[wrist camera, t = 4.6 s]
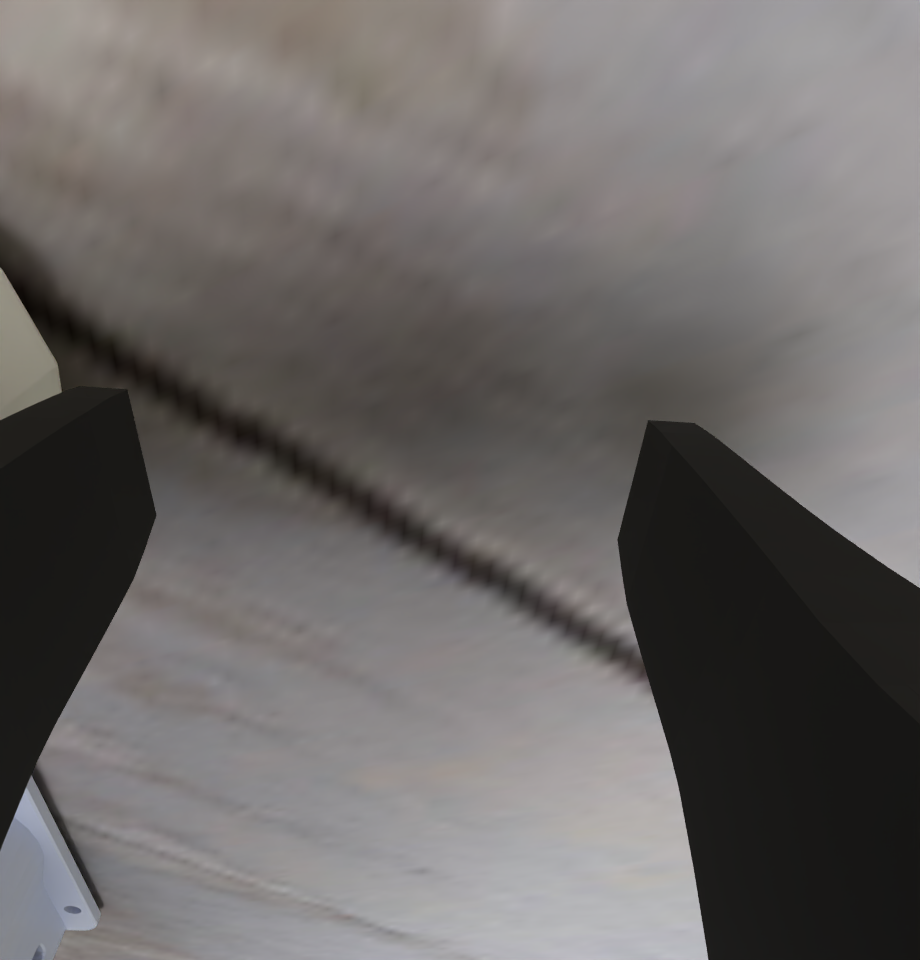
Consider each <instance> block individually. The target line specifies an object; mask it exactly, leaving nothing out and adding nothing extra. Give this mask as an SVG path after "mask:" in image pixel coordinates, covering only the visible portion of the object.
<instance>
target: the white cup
mask: <svg viewBox="0 0 920 960" xmlns="http://www.w3.org/2000/svg"><path fill="white" fill-rule="evenodd" d="M59 393H62V389H61V382H60V375H59V368H58V364H57V362H56V360H55V358H54V356H53V355H52V353H51V351H50V350H49V348H48V346H47V344H46V343H45V341H44V339H43V338H42V336H41V334H40V332H39V331H38V329H37V327H36V326H35V324H34V322H33V320H32V319H31V317H30V315H29V314H28V312H27V310H26V309H25V307H24V305H23V303H22V302H21V300H20V298H19V297H18V295H17V293H16V292H15V290H14V288H13V287H12V285H11V283H10V281H9V280H8V278H7V276H6V275H5V273H4V272H3V270H2V269H1V267H0V420H2V419H4V418H6V417H8V416H10V415H12V414H14V413H16V412H19V411H21V410H23V409H25V408H27V407H29V406H32V405H34V404H36V403H38V402H40V401H43V400H45V399H47V398H50V397H52V396H54V395H57V394H59Z"/></svg>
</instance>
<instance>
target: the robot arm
mask: <svg viewBox="0 0 920 960" xmlns="http://www.w3.org/2000/svg"><path fill="white" fill-rule="evenodd" d="M155 518H156V511H155V507H154V503H153V498H152V494H151V490H150V485H149V481H148V477H147V472H146V468H145V464H144V459H143V455H142V451H141V447H140V442H139V438H138V434H137V429H136V425H135V421H134V416H133V412H132V408H131V403H130V399H129V395H128V390H127V389H112V388H95V387H76V388H73V389H70V390H68V391H65V392H62V393H59V394H57V395H54V396H52V397H50V398H47V399H45V400H43V401H40V402H38V403H36V404H34V405H32V406H29V407H27V408H25V409H23V410H21V411H19V412H16V413H14V414H12V415H10V416H8V417H6V418H4V419H2V420H0V960H53V959H54V956H55V954H56V952H57V949H58V947H59V944H60V942H61V939H62V937H63V935H64V932H65V930H81V931H85V930H91V929H94V928H95V927H96V926H97V925H98V922H99V919H100V917H101V912H100V910H99V909H98V907H97V905H96V903H95V901H94V899H93V897H92V895H91V893H90V891H89V889H88V887H87V885H86V883H85V881H84V879H83V877H82V875H81V873H80V871H79V869H78V867H77V865H76V863H75V861H74V859H73V857H72V855H71V853H70V851H69V849H68V847H67V845H66V843H65V841H64V839H63V837H62V835H61V833H60V831H59V829H58V827H57V825H56V823H55V821H54V819H53V817H52V815H51V813H50V811H49V809H48V807H47V805H46V803H45V801H44V799H43V797H42V795H41V793H40V791H39V789H38V787H37V785H36V783H35V781H34V779H33V777H32V772H33V770H34V767H35V765H36V763H37V760H38V758H39V756H40V754H41V752H42V750H43V748H44V746H45V744H46V742H47V740H48V738H49V736H50V734H51V732H52V730H53V728H54V726H55V724H56V722H57V720H58V718H59V717H60V715H61V713H62V711H63V709H64V707H65V706H66V704H67V702H68V700H69V698H70V696H71V695H72V693H73V691H74V689H75V687H76V685H77V684H78V682H79V680H80V678H81V676H82V674H83V672H84V671H85V669H86V667H87V665H88V663H89V662H90V660H91V658H92V656H93V654H94V652H95V651H96V649H97V647H98V645H99V643H100V641H101V640H102V638H103V636H104V634H105V632H106V630H107V629H108V627H109V625H110V623H111V621H112V619H113V617H114V615H115V613H116V612H117V610H118V608H119V606H120V604H121V602H122V600H123V598H124V597H125V595H126V593H127V591H128V589H129V587H130V585H131V583H132V581H133V579H134V577H135V574H136V571H137V569H138V566H139V563H140V561H141V558H142V556H143V553H144V550H145V547H146V544H147V541H148V538H149V536H150V533H151V530H152V527H153V524H154V521H155ZM618 546H619V554H620V561H621V569H622V576H623V583H624V589H625V595H626V601H627V606H628V610H629V613H630V617H631V620H632V624H633V627H634V631H635V634H636V638H637V641H638V645H639V648H640V652H641V655H642V659H643V662H644V665H645V669H646V672H647V676H648V679H649V682H650V686H651V689H652V693H653V696H654V699H655V703H656V706H657V709H658V713H659V716H660V720H661V723H662V726H663V730H664V733H665V737H666V740H667V743H668V747H669V750H670V754H671V758H672V762H673V766H674V770H675V774H676V778H677V782H678V786H679V791H680V796H681V802H682V807H683V812H684V818H685V823H686V829H687V834H688V840H689V845H690V850H691V856H692V861H693V867H694V873H695V879H696V885H697V891H698V897H699V903H700V910H701V916H702V922H703V928H704V934H705V940H706V946H707V952H708V960H920V588H919V587H917V586H916V585H914V584H913V583H911V582H910V581H908V580H906V579H905V578H903V577H902V576H900V575H899V574H897V573H896V572H894V571H893V570H891V569H890V568H888V567H887V566H885V565H884V564H882V563H881V562H879V561H878V560H876V559H875V558H874V557H872V556H871V555H869V554H868V553H866V552H865V551H864V550H862V549H861V548H859V547H858V546H856V545H855V544H853V543H852V542H851V541H849V540H848V539H846V538H845V537H843V536H842V535H841V534H839V533H838V532H837V531H835V530H834V529H832V528H831V527H830V526H828V525H827V524H826V523H824V522H823V521H822V520H820V519H819V518H818V517H816V516H815V515H814V514H812V513H811V512H810V511H808V510H807V509H806V508H804V507H803V506H802V505H800V504H799V503H798V502H797V501H795V500H794V499H793V498H791V497H790V496H789V495H788V494H786V493H785V492H784V491H782V490H781V489H780V488H779V487H777V486H776V485H775V484H774V483H772V482H771V481H770V480H768V479H767V478H766V477H765V476H763V475H762V474H761V473H760V472H758V471H757V470H756V469H755V468H753V467H752V466H751V465H750V464H748V463H747V462H746V461H745V460H743V459H742V458H741V457H740V456H738V455H737V454H736V453H735V452H733V451H732V450H731V449H730V448H728V447H727V446H726V445H724V444H723V443H722V442H721V441H719V440H718V439H717V438H715V437H714V436H713V435H711V434H710V433H708V432H707V431H706V430H704V429H703V428H701V427H699V426H698V425H696V424H695V423H684V422H667V421H650V420H648V423H647V427H646V431H645V435H644V439H643V443H642V447H641V451H640V454H639V458H638V462H637V466H636V470H635V474H634V478H633V482H632V486H631V489H630V493H629V497H628V501H627V505H626V509H625V513H624V517H623V521H622V524H621V528H620V532H619V536H618Z"/></svg>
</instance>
